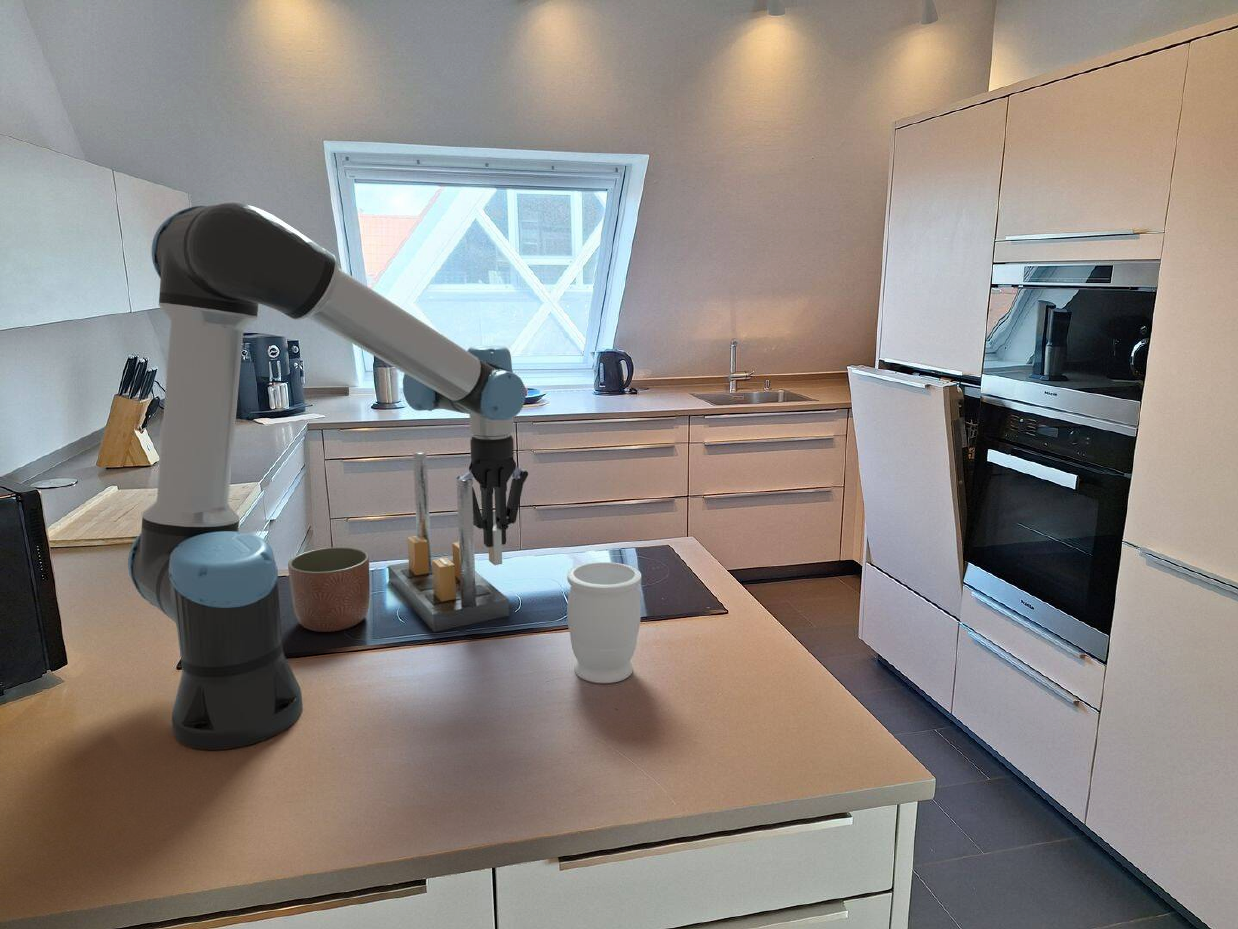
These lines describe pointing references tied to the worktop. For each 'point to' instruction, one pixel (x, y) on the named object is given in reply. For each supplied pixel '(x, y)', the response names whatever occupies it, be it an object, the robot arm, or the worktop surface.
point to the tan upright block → (456, 559)
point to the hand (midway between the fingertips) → (495, 562)
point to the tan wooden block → (418, 555)
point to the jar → (603, 619)
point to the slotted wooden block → (444, 579)
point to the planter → (330, 588)
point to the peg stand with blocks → (472, 589)
